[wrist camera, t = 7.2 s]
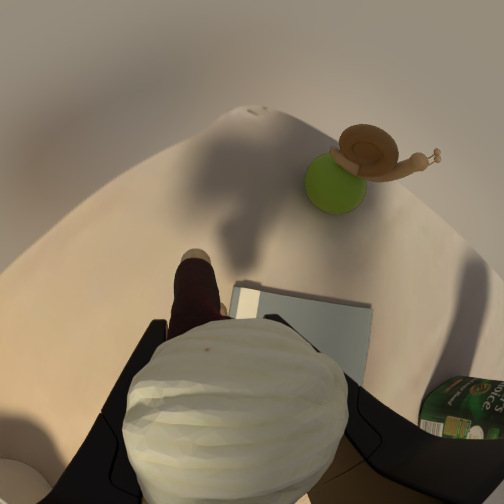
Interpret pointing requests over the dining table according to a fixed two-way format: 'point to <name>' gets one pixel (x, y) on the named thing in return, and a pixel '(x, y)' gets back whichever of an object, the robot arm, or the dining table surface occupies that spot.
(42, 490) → the lumpy-topped squat cylinder
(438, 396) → the coffee jar
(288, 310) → the mat
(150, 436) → the grandmother figurine
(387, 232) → the dining table surface
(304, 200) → the dining table surface
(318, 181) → the snail figurine
